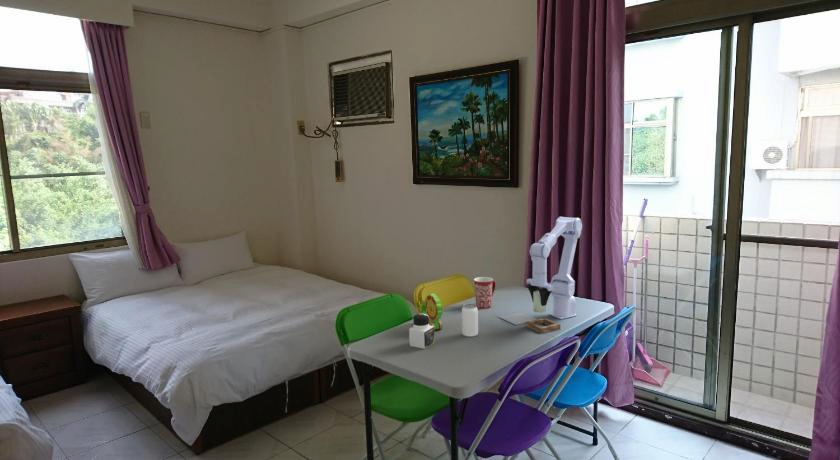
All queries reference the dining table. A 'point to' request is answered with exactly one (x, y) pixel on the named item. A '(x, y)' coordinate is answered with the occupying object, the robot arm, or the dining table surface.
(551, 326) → the frame
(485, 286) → the mug
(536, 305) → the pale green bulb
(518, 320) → the mat
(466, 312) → the can
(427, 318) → the medicine bottle
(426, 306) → the toy lion
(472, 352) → the dining table surface
